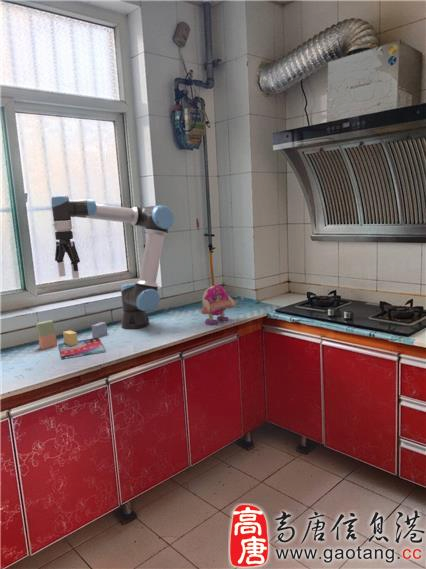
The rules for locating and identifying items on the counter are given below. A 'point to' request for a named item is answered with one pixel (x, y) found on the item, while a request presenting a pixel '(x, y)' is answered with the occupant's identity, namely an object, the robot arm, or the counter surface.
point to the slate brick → (99, 329)
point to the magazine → (81, 348)
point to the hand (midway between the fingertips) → (69, 277)
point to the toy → (216, 304)
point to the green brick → (45, 328)
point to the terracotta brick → (47, 341)
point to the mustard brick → (70, 338)
